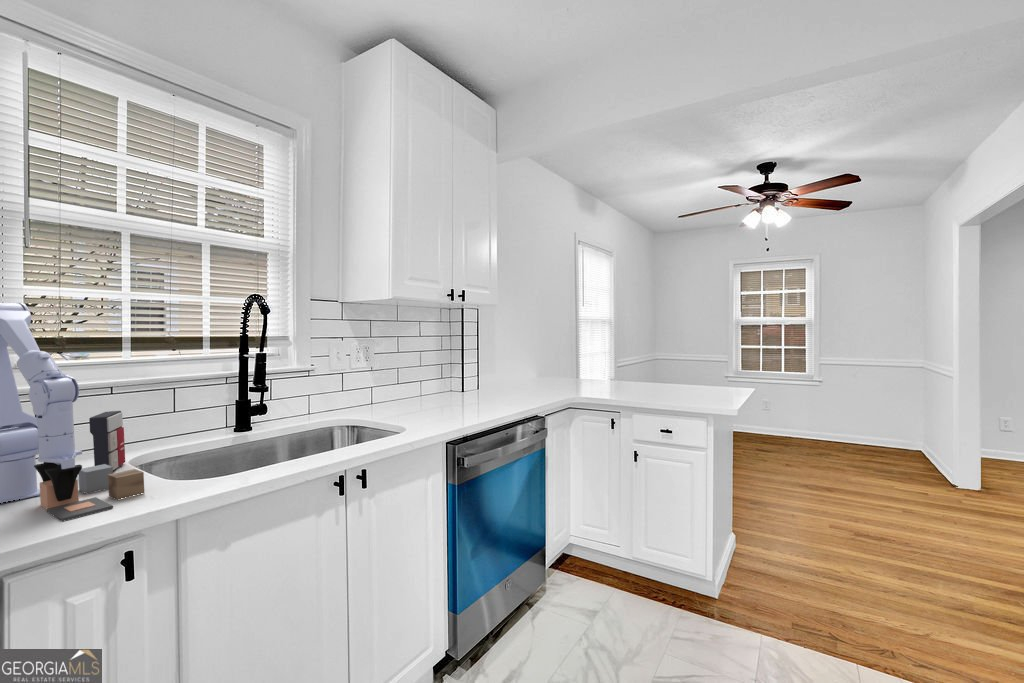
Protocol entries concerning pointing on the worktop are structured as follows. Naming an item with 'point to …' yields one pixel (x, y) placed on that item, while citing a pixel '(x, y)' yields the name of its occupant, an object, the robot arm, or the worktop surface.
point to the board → (79, 508)
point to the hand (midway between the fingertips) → (59, 497)
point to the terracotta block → (49, 495)
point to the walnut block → (126, 483)
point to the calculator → (108, 439)
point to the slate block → (94, 478)
